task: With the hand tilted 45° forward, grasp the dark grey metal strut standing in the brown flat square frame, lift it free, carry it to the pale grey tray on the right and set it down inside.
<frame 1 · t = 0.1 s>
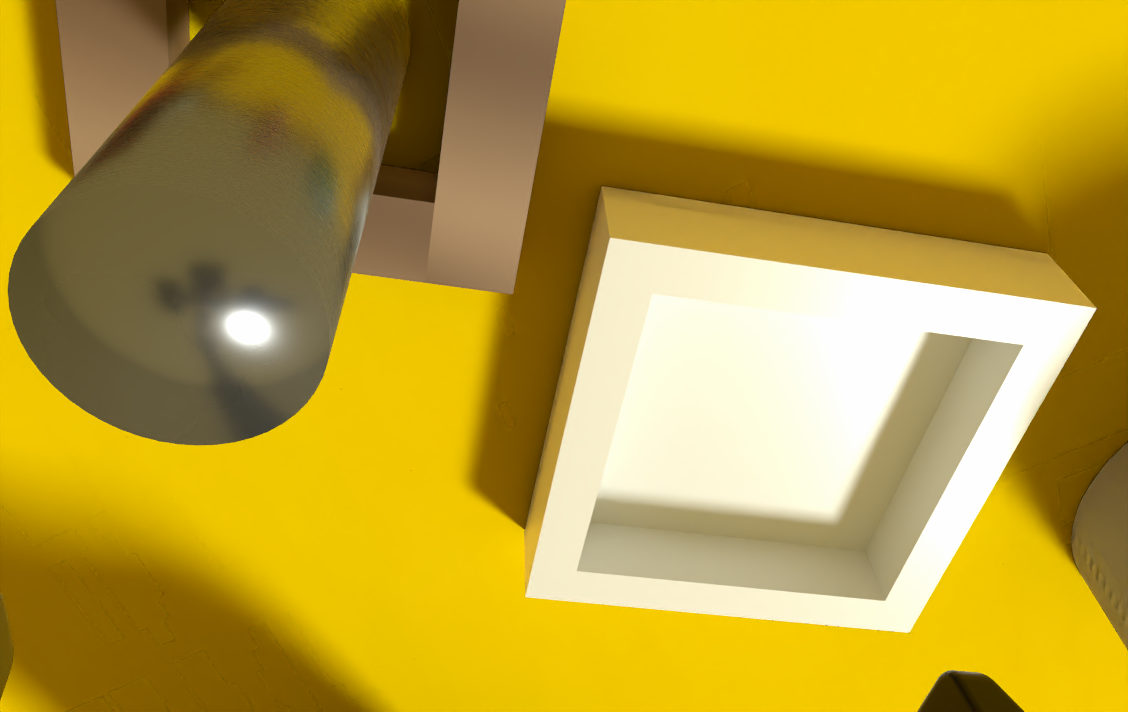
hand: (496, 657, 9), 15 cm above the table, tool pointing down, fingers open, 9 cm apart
strut: (269, 139, 16), in the brown flat square frame
brown flat square frame: (323, 35, 20), on the table
bin tray: (762, 404, 27), on the table
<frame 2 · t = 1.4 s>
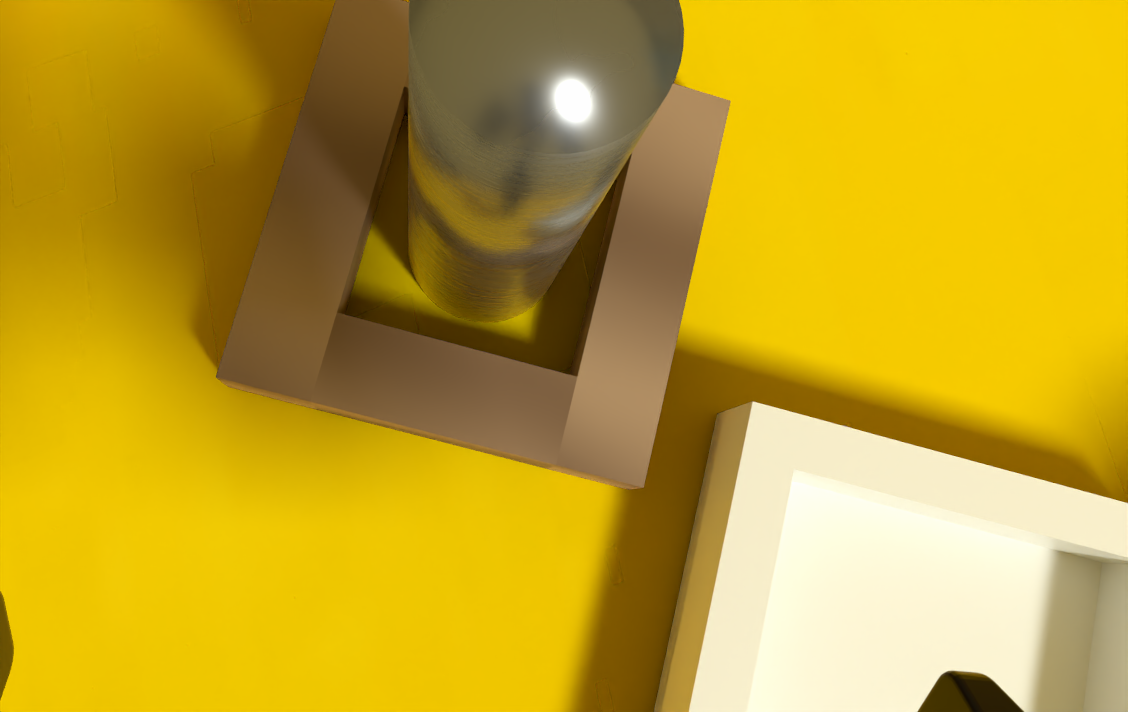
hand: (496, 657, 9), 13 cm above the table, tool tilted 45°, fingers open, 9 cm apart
strut: (507, 168, 18), in the brown flat square frame
brown flat square frame: (484, 248, 23), on the table
bin tray: (892, 702, 23), on the table
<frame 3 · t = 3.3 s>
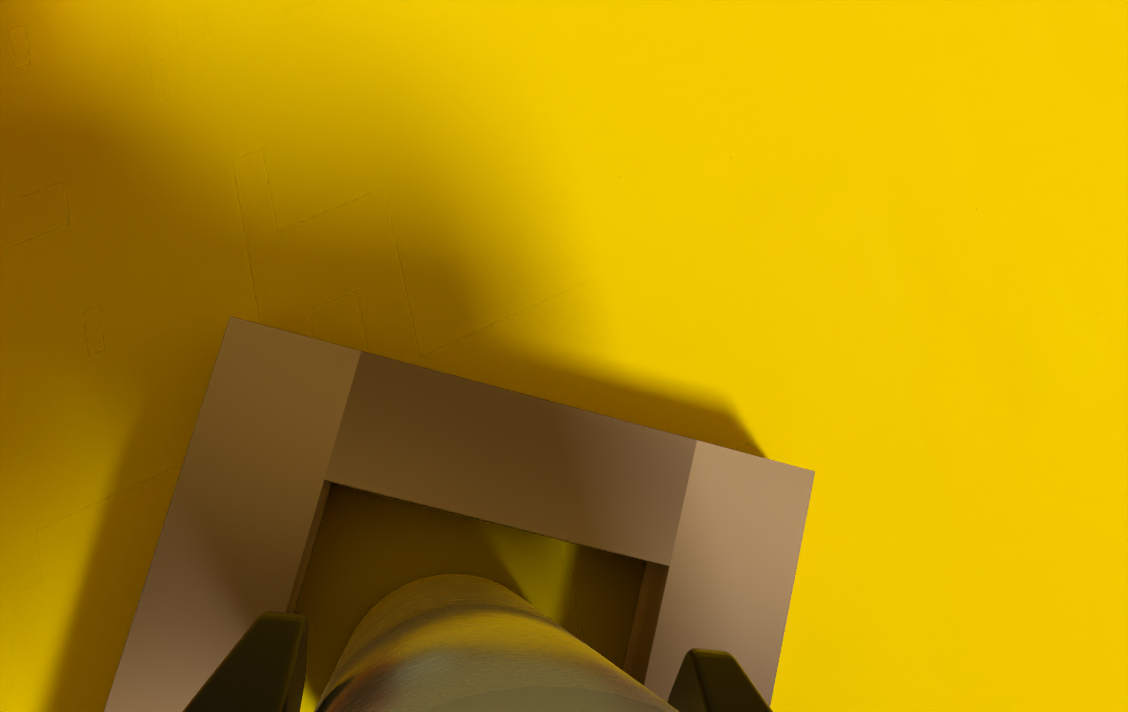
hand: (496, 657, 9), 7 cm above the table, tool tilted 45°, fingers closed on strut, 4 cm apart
brown flat square frame: (449, 688, 16), on the table
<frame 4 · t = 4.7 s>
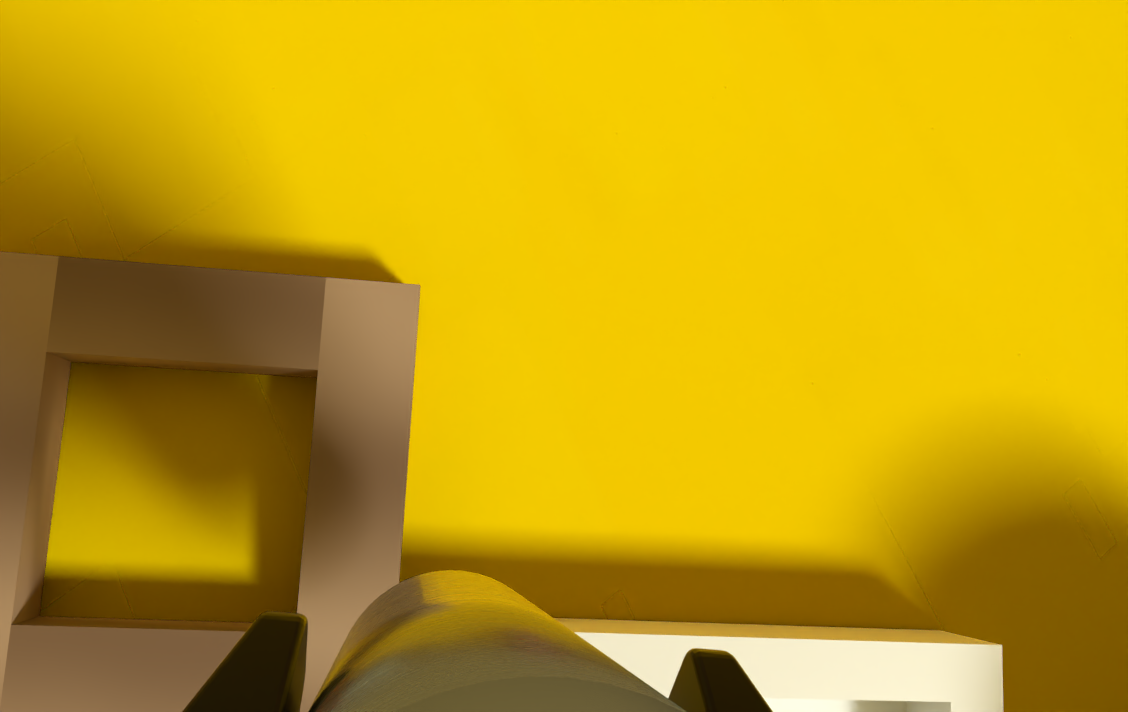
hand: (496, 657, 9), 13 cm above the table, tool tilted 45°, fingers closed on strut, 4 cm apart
brown flat square frame: (186, 492, 21), on the table
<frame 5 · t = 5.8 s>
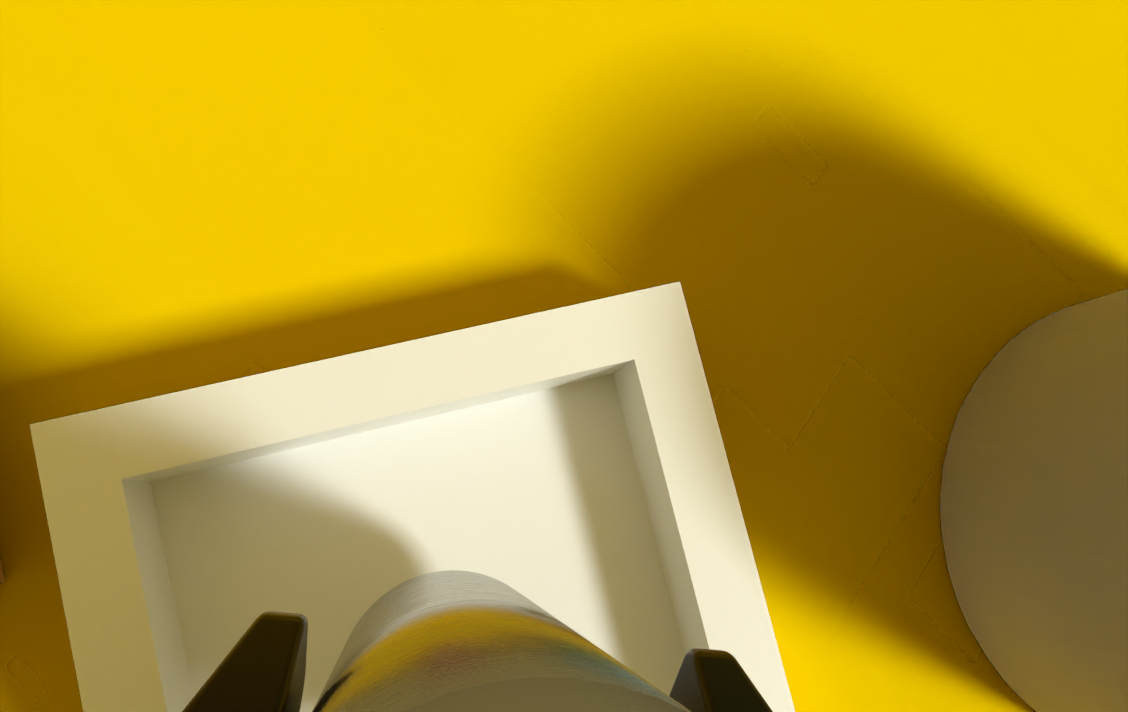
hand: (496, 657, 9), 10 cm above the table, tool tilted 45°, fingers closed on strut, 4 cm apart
bin tray: (444, 653, 19), on the table
when the fingers open (8 cm above the table, at t = 6.3 s): strut stays where it is, resting on bin tray.
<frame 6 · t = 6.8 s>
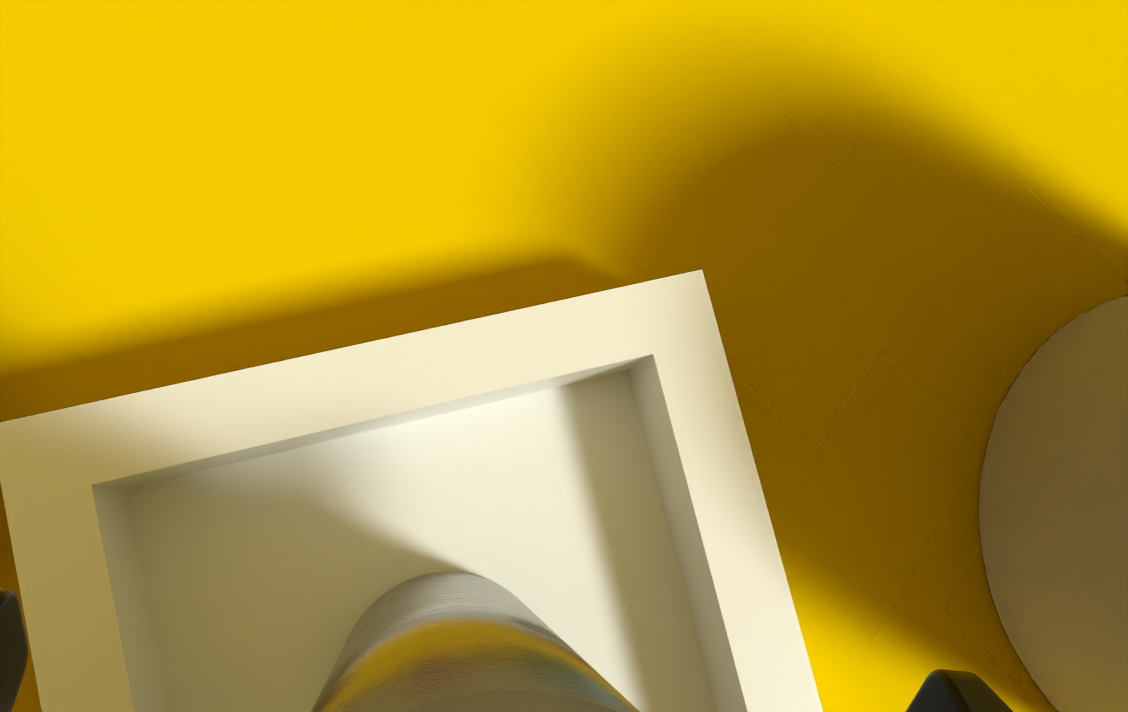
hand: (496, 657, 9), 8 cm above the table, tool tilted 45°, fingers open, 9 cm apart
bin tray: (446, 673, 17), on the table
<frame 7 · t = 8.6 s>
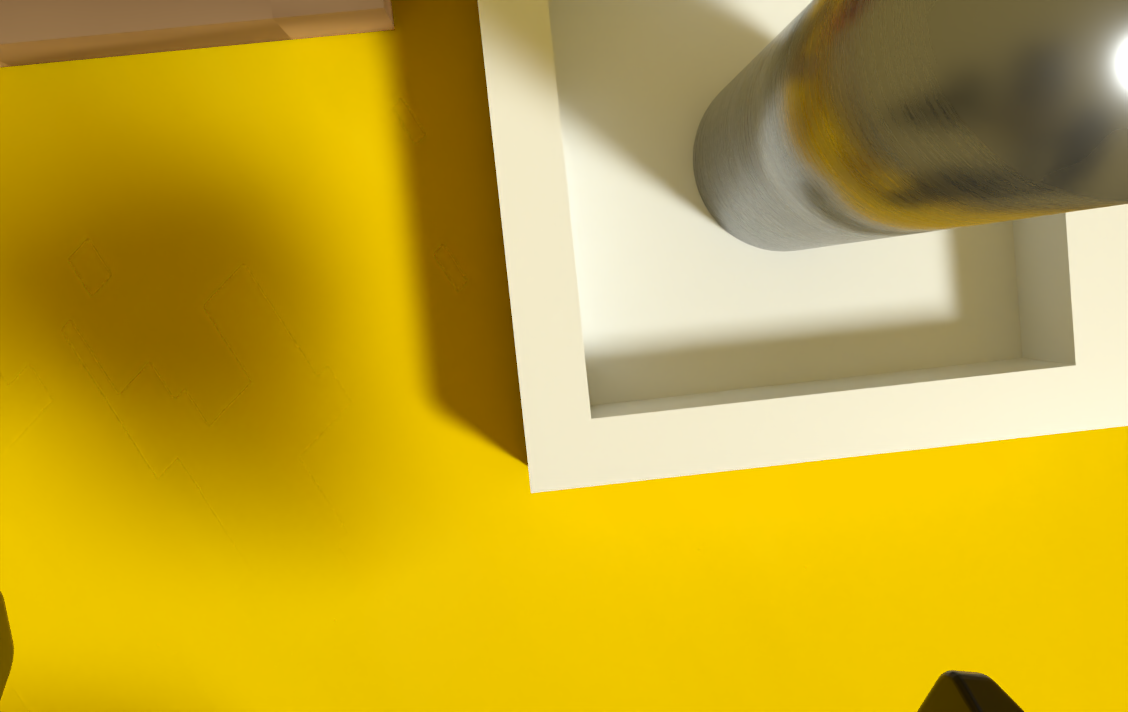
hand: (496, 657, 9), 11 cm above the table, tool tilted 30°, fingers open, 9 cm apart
strut: (890, 106, 14), in the bin tray, point 6 cm above the table
bin tray: (777, 161, 20), on the table
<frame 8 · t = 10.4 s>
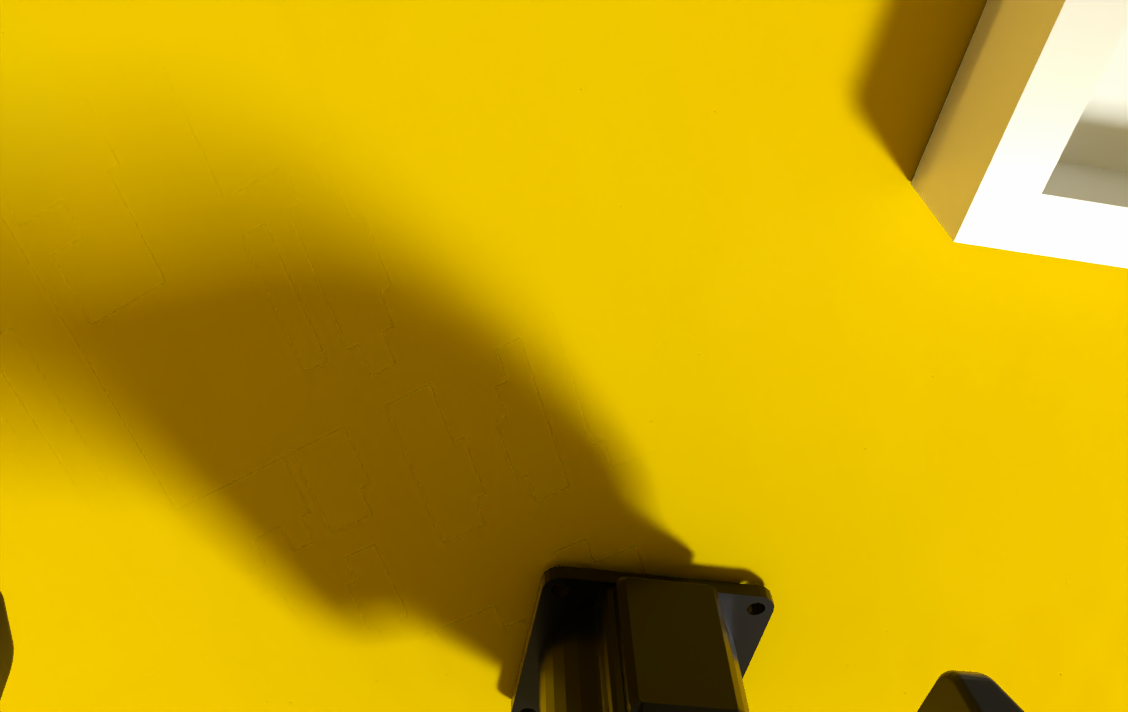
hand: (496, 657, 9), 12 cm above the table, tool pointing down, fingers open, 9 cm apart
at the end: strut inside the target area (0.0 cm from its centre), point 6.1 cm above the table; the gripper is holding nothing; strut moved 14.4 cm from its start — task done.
